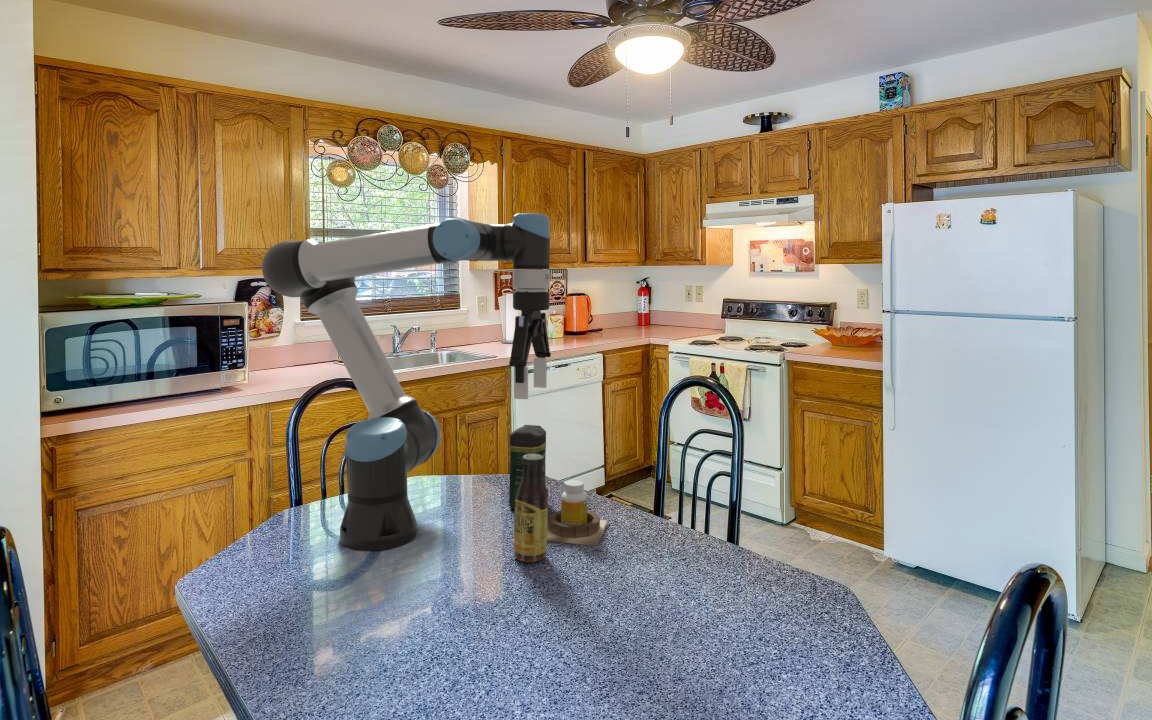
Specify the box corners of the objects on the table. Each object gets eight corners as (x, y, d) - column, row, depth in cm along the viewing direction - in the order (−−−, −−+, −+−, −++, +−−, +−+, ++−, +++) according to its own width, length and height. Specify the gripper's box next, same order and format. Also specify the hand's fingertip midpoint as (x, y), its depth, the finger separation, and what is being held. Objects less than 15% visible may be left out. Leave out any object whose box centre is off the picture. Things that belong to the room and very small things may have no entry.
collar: (538, 539, 139) (538, 525, 138) (553, 519, 150) (553, 505, 150) (596, 545, 136) (596, 531, 136) (607, 524, 148) (607, 510, 147)
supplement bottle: (586, 533, 140) (587, 487, 139) (560, 532, 140) (560, 486, 139) (587, 523, 146) (587, 479, 144) (561, 522, 146) (561, 478, 145)
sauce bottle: (507, 557, 130) (506, 455, 128) (531, 547, 135) (531, 449, 132) (530, 567, 126) (530, 462, 123) (554, 557, 130) (555, 455, 128)
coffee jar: (539, 514, 153) (539, 432, 151) (505, 511, 155) (504, 430, 152) (549, 500, 163) (549, 423, 160) (517, 497, 164) (517, 421, 162)
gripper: (531, 293, 128) (530, 405, 131) (563, 289, 152) (563, 383, 155) (492, 292, 129) (493, 402, 132) (531, 288, 153) (531, 382, 156)
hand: (531, 392), depth 143 cm, fingers open, 13 cm apart
